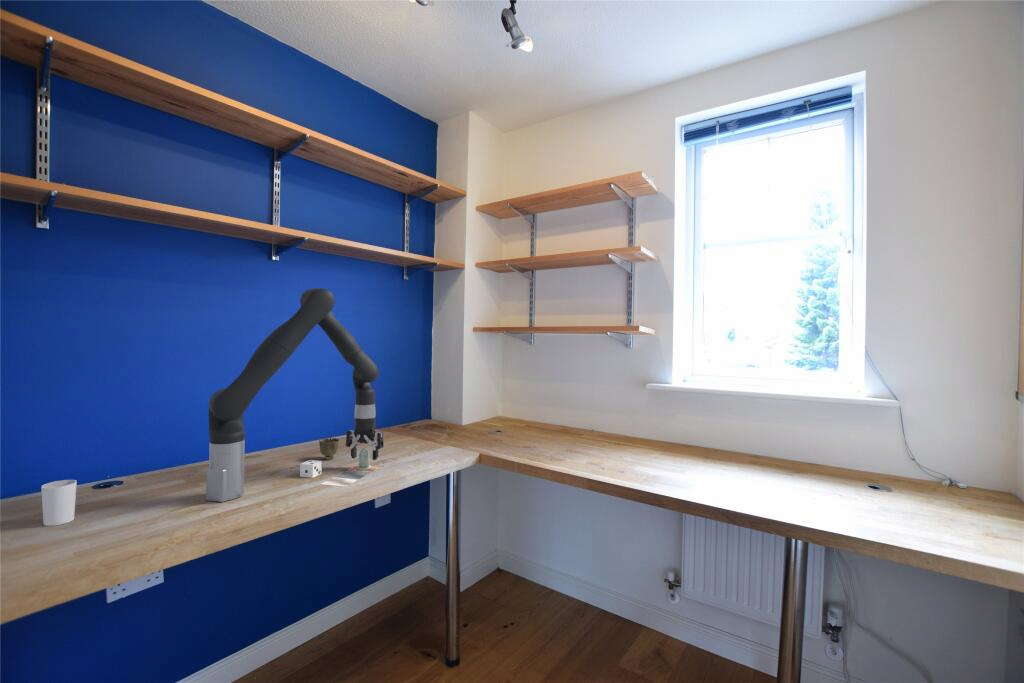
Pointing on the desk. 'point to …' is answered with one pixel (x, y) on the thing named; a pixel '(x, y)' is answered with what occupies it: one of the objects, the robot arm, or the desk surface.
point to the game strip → (349, 476)
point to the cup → (328, 447)
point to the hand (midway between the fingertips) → (364, 458)
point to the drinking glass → (58, 502)
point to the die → (310, 468)
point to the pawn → (364, 460)
